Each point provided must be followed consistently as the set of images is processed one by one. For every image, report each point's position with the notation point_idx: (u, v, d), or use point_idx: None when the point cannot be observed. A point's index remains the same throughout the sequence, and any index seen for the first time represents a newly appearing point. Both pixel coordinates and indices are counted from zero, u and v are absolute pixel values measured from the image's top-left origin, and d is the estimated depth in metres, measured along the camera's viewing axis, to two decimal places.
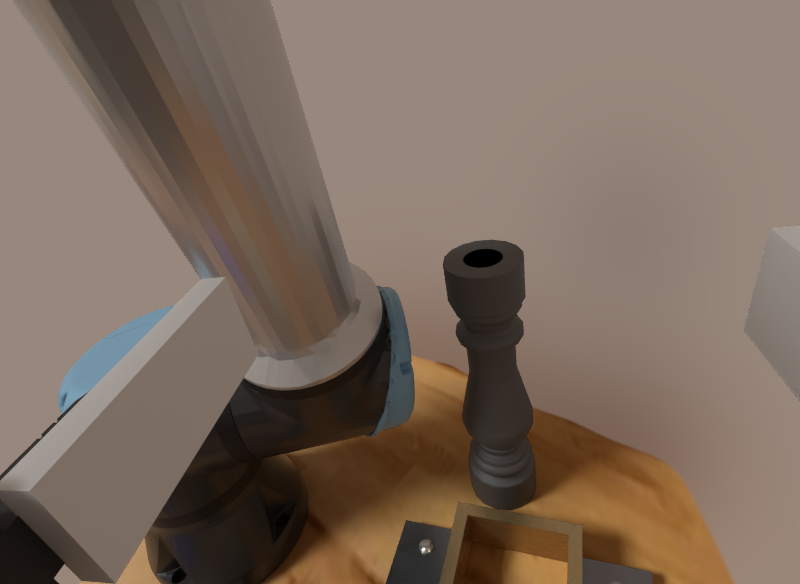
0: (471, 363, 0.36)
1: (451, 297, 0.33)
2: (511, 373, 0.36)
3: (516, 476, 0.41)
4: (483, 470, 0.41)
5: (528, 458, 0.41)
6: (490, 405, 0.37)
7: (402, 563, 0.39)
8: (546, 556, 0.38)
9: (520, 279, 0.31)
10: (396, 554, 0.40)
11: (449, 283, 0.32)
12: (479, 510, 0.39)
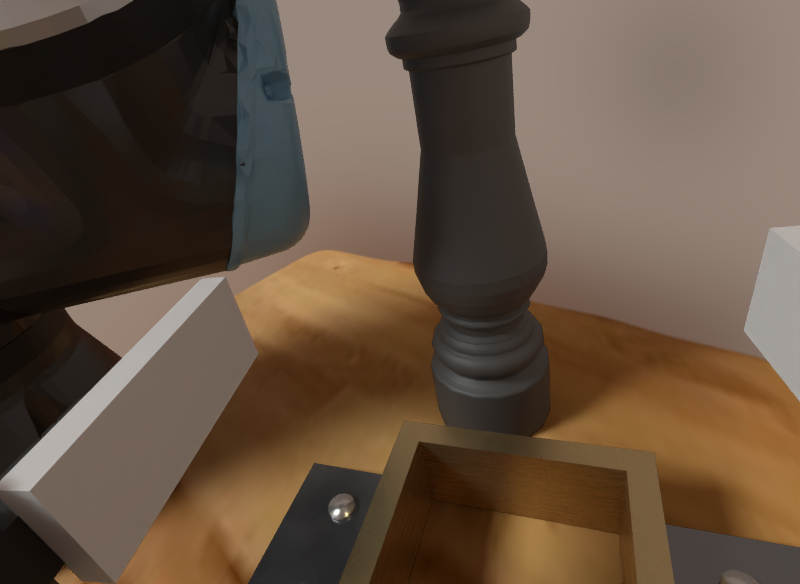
0: (420, 113, 0.17)
1: None
2: (503, 130, 0.17)
3: (515, 378, 0.22)
4: (454, 367, 0.22)
5: (537, 343, 0.22)
6: (461, 207, 0.18)
7: (292, 538, 0.20)
8: (574, 523, 0.19)
9: None
10: (284, 521, 0.21)
11: None
12: (442, 433, 0.20)
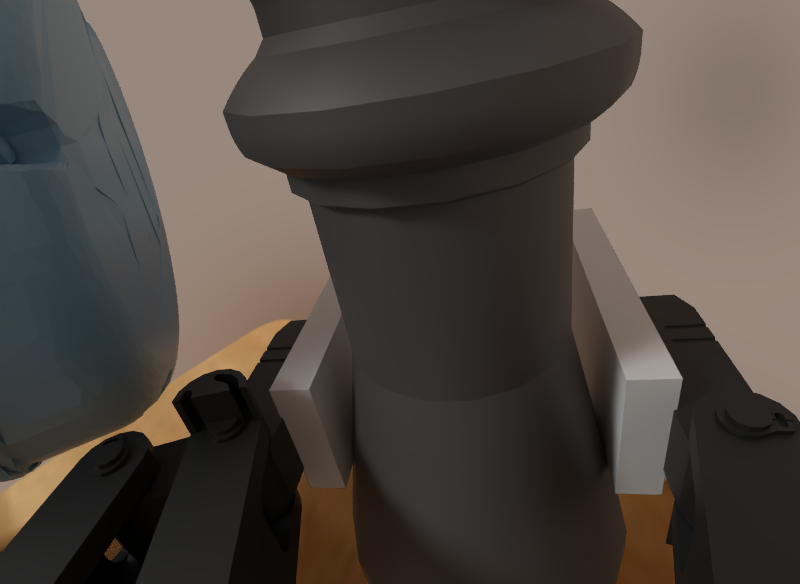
0: (336, 287, 0.07)
1: None
2: (546, 340, 0.07)
3: None
4: None
5: None
6: (439, 506, 0.07)
7: None
8: None
9: None
10: None
11: None
12: None
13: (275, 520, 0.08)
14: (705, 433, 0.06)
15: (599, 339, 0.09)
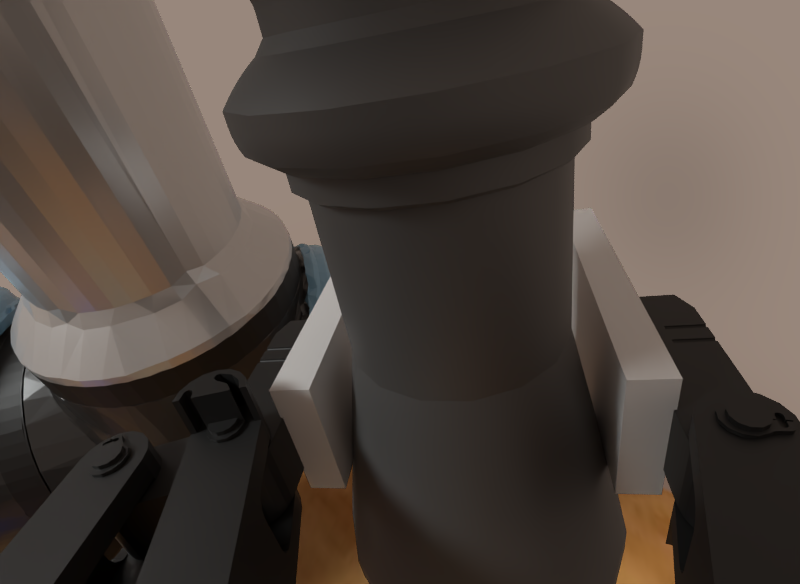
0: (336, 287, 0.07)
1: None
2: (546, 340, 0.07)
3: None
4: None
5: None
6: (439, 507, 0.07)
7: None
8: None
9: None
10: None
11: None
12: None
13: (275, 520, 0.08)
14: (705, 433, 0.06)
15: (599, 339, 0.09)
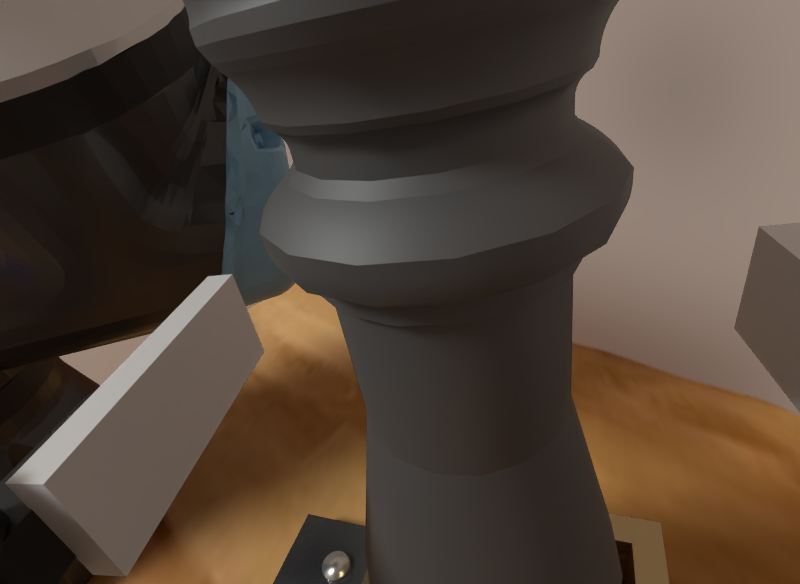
0: (356, 370, 0.08)
1: None
2: (548, 419, 0.07)
3: None
4: None
5: None
6: (451, 566, 0.08)
7: None
8: None
9: None
10: (276, 581, 0.20)
11: None
12: None
13: None
14: None
15: None
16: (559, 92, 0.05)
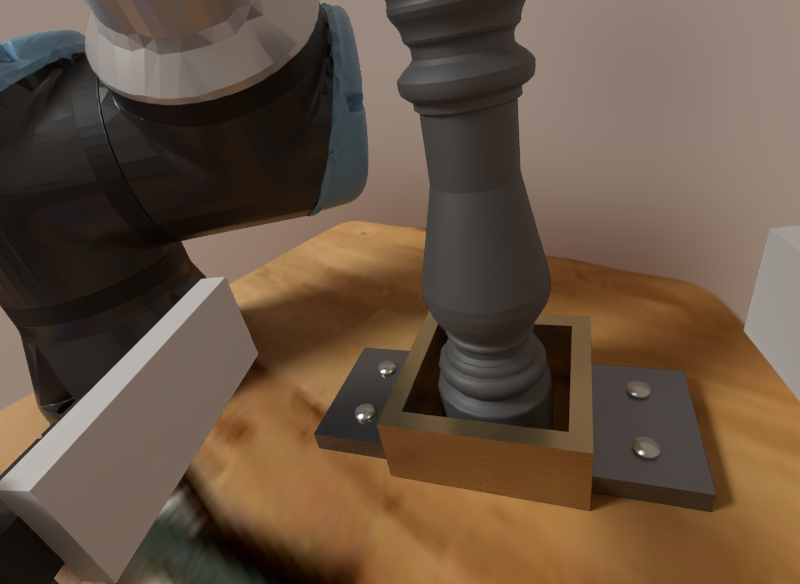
0: (430, 152, 0.18)
1: None
2: (509, 169, 0.18)
3: (520, 399, 0.23)
4: (460, 388, 0.23)
5: (540, 365, 0.23)
6: (469, 242, 0.19)
7: (355, 385, 0.30)
8: None
9: None
10: (348, 377, 0.31)
11: None
12: None
13: None
14: None
15: None
16: (506, 29, 0.16)
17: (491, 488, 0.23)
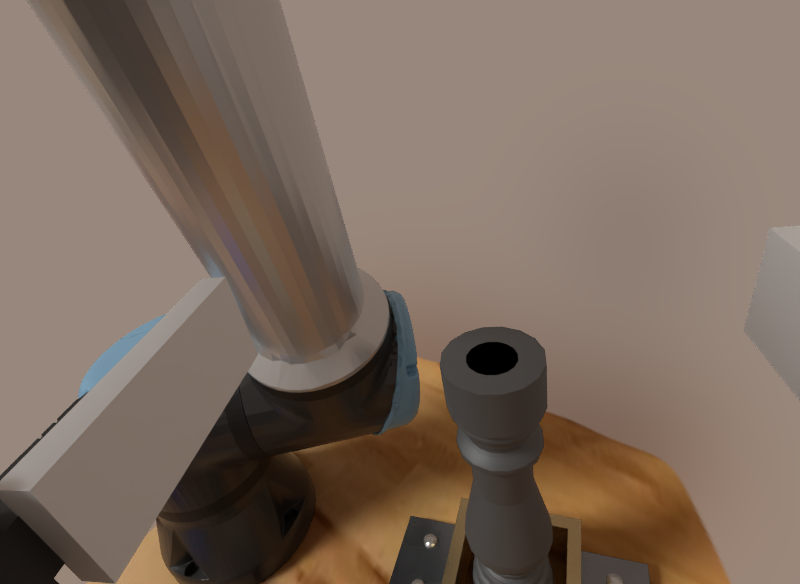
0: (476, 478, 0.29)
1: (451, 407, 0.25)
2: (526, 492, 0.28)
3: None
4: None
5: (546, 579, 0.34)
6: (500, 530, 0.29)
7: (407, 557, 0.40)
8: None
9: (541, 390, 0.24)
10: (401, 548, 0.41)
11: (448, 392, 0.25)
12: None
13: None
14: None
15: None
16: None
17: None
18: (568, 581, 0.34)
